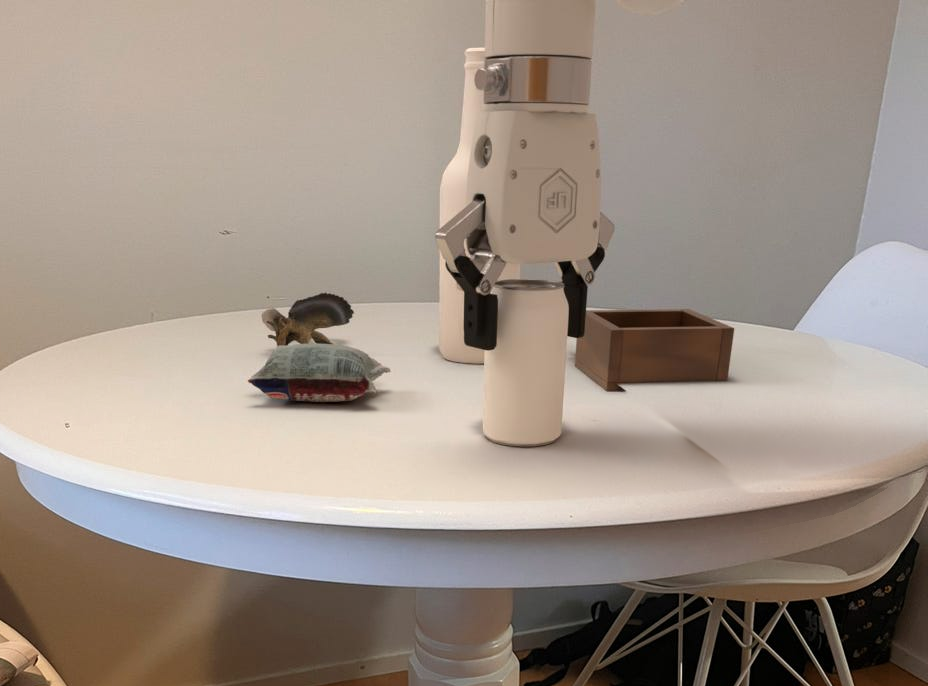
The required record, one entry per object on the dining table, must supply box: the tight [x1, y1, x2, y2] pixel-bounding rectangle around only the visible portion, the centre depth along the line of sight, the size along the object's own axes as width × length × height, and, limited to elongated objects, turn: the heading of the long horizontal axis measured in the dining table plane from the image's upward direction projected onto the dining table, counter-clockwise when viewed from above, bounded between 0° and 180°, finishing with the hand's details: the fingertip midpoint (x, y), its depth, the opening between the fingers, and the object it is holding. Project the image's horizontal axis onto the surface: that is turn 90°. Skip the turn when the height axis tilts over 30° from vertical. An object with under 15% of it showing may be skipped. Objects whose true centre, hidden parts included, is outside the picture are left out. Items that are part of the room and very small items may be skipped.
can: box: [482, 278, 569, 448], centre depth 78 cm, size 6×6×12 cm
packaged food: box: [247, 343, 391, 403], centre depth 91 cm, size 9×12×5 cm
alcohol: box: [438, 47, 521, 365], centre depth 104 cm, size 9×9×30 cm
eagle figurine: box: [260, 292, 355, 348], centre depth 111 cm, size 8×7×9 cm
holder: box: [574, 308, 735, 392], centre depth 101 cm, size 12×12×6 cm
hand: (525, 340), depth 77 cm, fingers open, 8 cm apart
